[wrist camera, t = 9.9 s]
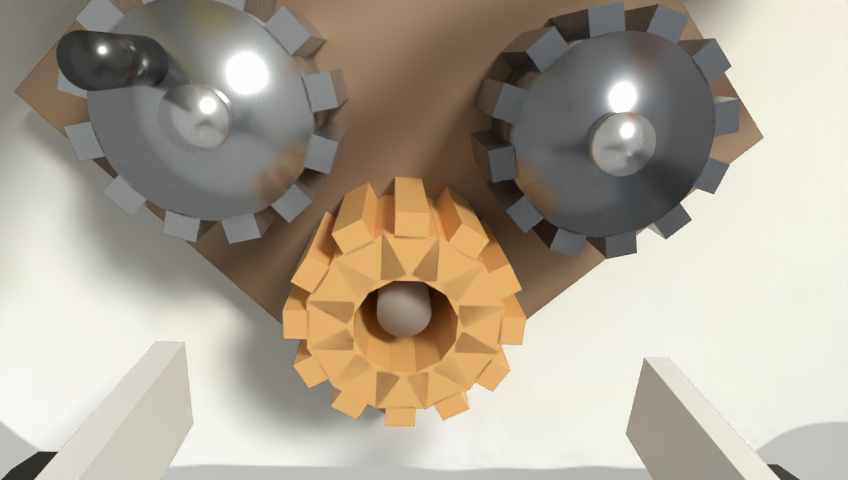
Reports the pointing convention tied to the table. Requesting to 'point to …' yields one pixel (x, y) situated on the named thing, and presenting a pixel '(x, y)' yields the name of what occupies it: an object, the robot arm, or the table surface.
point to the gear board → (402, 137)
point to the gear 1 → (204, 109)
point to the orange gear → (403, 261)
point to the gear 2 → (604, 127)
